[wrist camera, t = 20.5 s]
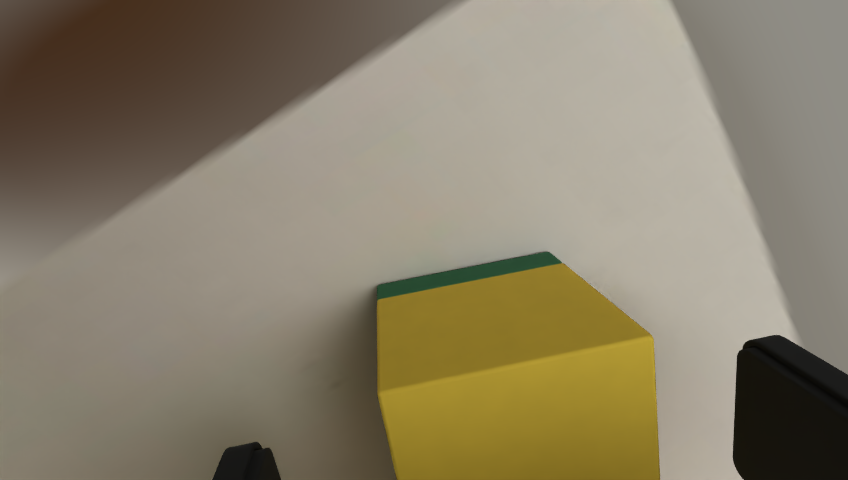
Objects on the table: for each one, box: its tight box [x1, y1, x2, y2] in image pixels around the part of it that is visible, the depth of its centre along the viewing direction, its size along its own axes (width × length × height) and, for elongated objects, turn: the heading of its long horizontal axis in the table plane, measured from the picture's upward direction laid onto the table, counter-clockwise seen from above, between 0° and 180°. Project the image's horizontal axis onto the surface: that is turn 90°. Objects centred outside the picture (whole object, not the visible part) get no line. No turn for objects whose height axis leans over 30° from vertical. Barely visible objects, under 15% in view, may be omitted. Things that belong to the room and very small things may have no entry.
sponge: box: [377, 252, 660, 480], centre depth 11 cm, size 5×9×5 cm, turn 10°
